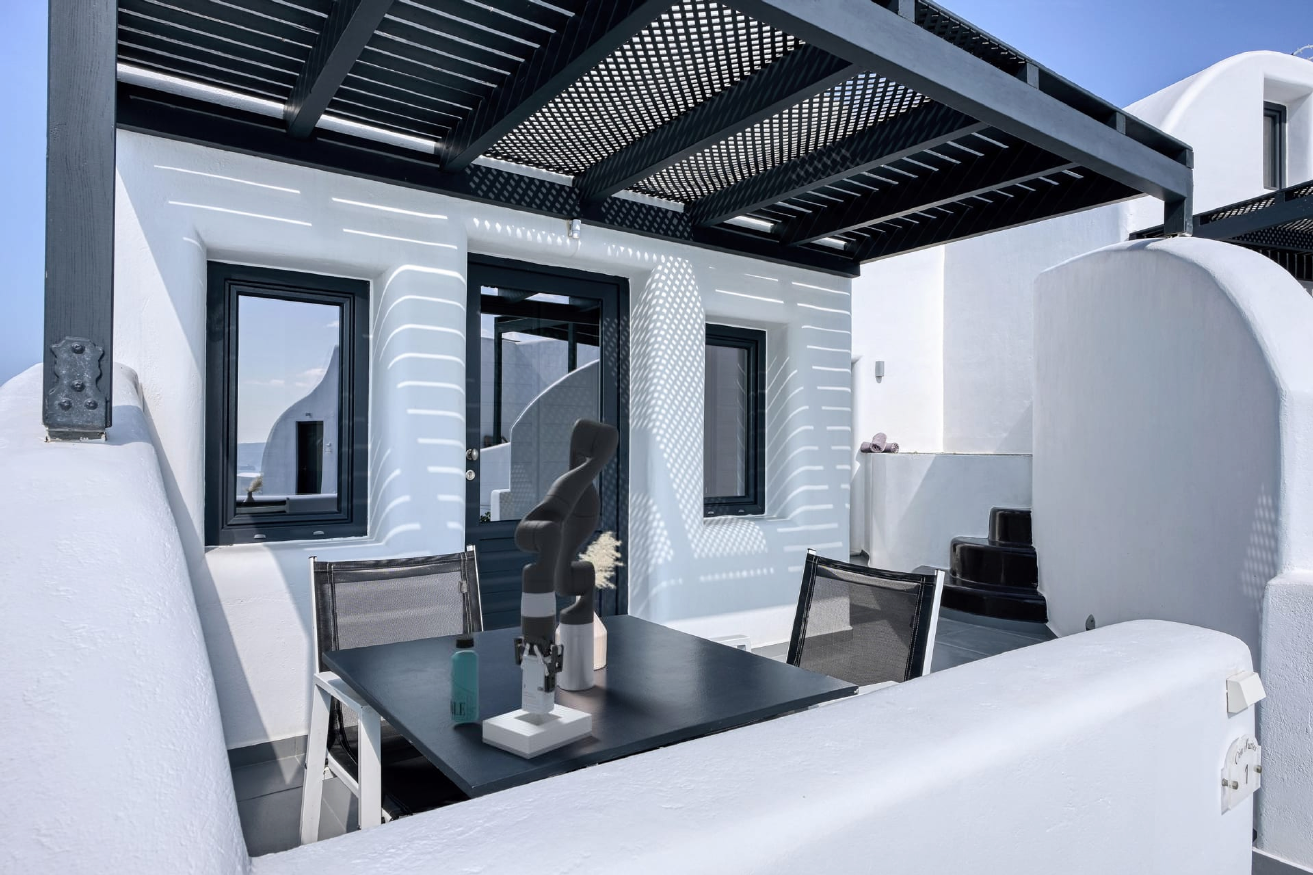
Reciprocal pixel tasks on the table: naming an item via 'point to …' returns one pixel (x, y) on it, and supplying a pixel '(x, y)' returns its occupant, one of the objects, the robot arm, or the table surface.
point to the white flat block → (536, 730)
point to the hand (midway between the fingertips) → (538, 688)
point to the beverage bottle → (464, 682)
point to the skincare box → (535, 687)
